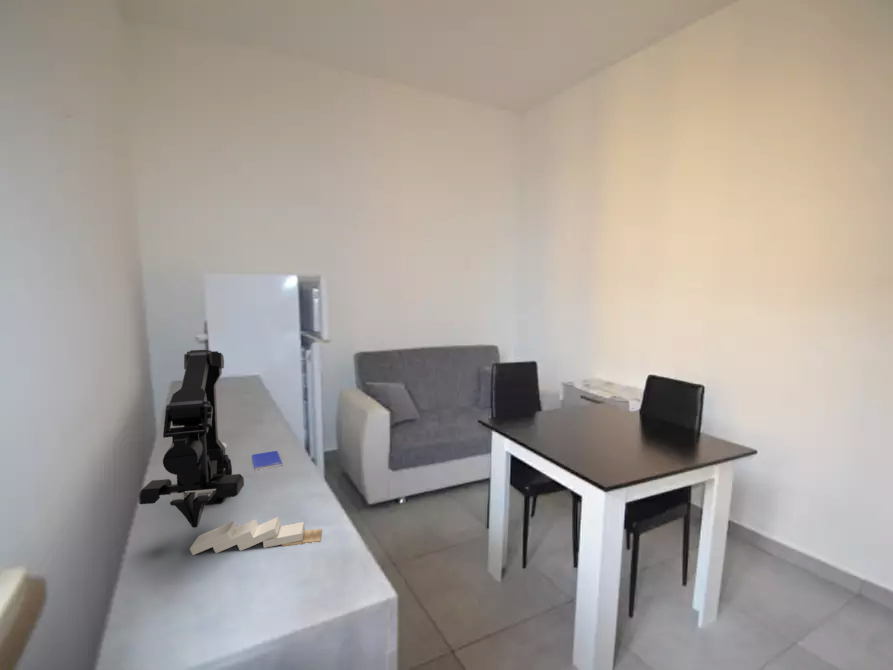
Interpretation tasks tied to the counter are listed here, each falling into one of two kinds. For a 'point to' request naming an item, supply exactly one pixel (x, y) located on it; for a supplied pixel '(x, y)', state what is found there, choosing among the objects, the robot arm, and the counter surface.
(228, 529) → the domino
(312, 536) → the maple domino
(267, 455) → the hard drive
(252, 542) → the domino
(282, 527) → the domino
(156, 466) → the counter surface
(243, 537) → the domino
